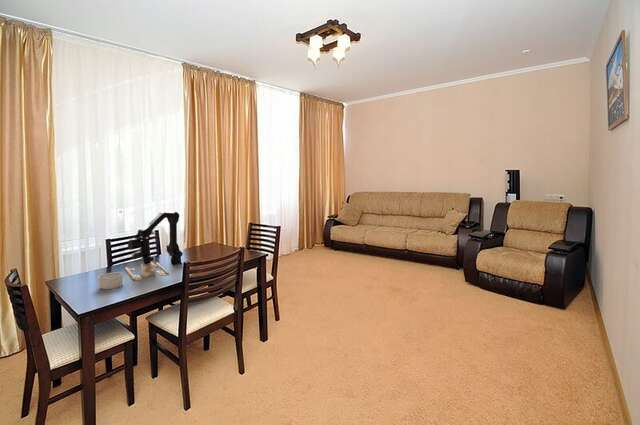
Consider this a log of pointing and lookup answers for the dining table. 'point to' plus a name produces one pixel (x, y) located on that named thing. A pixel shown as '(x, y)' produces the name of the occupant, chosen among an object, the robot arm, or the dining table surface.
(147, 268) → the maple block
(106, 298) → the dining table surface
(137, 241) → the robot arm
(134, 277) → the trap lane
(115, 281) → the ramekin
